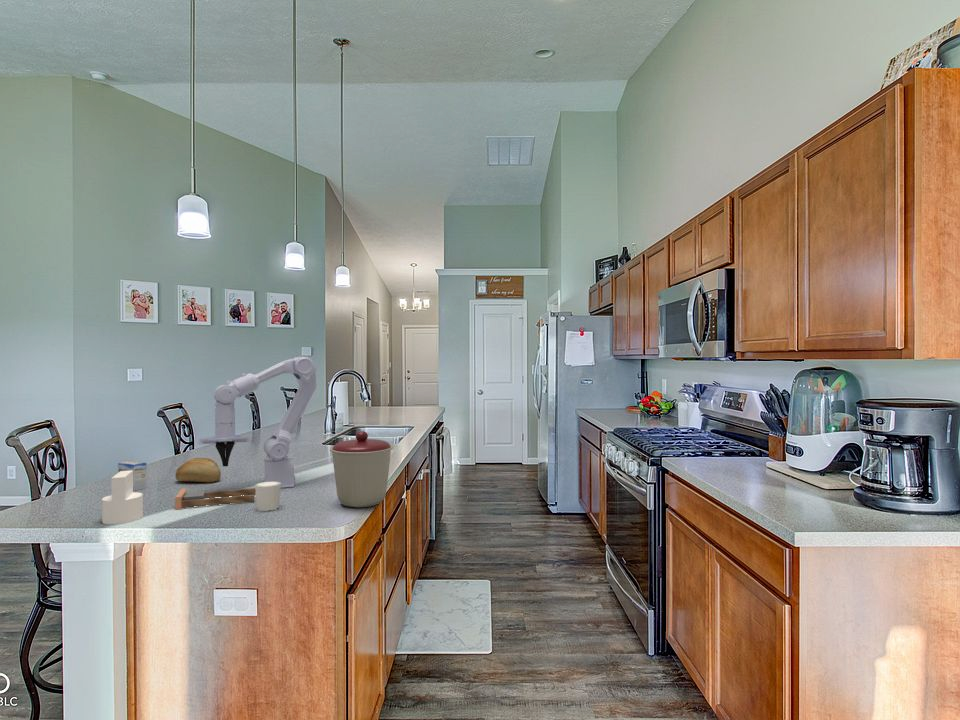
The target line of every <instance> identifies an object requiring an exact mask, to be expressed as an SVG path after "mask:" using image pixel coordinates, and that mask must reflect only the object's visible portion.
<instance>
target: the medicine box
mask: <svg viewBox="0 0 960 720" xmlns="http://www.w3.org/2000/svg"><path fill="white" fill-rule="evenodd" d="M131 470H133V492H138V491H142V490H145V488H146V489H147V488H148V487H147V482H148V481H147V474H148V473H147V471H148V470H147V462H141V461H133V460H126V461H122V462H118V464H117V473H119V472H120V471H131ZM141 489H142V490H141ZM137 490H138V491H137Z"/></svg>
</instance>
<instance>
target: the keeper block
mask: <svg viewBox="0 0 960 720" xmlns="http://www.w3.org/2000/svg"><path fill="white" fill-rule="evenodd" d="M205 492H206V490H202V491H201V490H200V491H191V492H190V491H187V493H186V494H185V496H184V497H183V501H186V500H197V499H205Z"/></svg>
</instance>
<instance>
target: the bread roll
mask: <svg viewBox="0 0 960 720" xmlns="http://www.w3.org/2000/svg"><path fill="white" fill-rule="evenodd" d="M221 473H222V472H221V469H220V467H219V465H218V463H217V462H216V461H215V460H214V459H212V458H208V457H200V458H199V457H196V458H192V459H190V460H188V461H186V462H184V463H183V464H181V465H180V466H179V467H178V468H177V469H176V472H175V479H176V481H178V482H196V483H197V482H198V483H216V482H218V481H220V479H221V476H222V475H221ZM215 481H216V482H215Z"/></svg>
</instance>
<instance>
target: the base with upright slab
mask: <svg viewBox="0 0 960 720" xmlns="http://www.w3.org/2000/svg"><path fill="white" fill-rule="evenodd" d="M110 480H111V481H110V482H111V485H110V486H111V489H110V490H111V494H110V495H107V496H104V497H102V499H101V518H102V519H101V520H102V521H101V522H103V524H104V525H123V524H129V523H133V522H136V521H139V520H141V519H142V518H143V517H144V505H143V503H144V498H143V497H144V496H143V493H142V492H138V491H133V470H131V471H120V472H119V473H118V472H117V473H116V474H115V475H114V476H111V479H110ZM141 517H142V518H141ZM140 518H141V519H140ZM138 519H139V520H138ZM135 520H136V521H135Z"/></svg>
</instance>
